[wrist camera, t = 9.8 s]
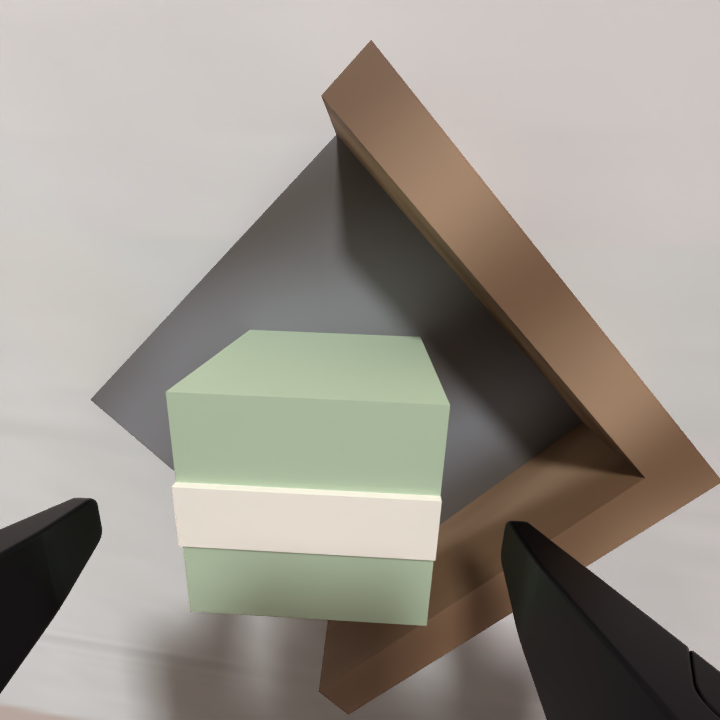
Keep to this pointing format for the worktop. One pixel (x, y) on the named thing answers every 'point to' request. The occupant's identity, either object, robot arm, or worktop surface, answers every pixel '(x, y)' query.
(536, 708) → the worktop surface
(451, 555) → the corner arena
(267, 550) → the cube
